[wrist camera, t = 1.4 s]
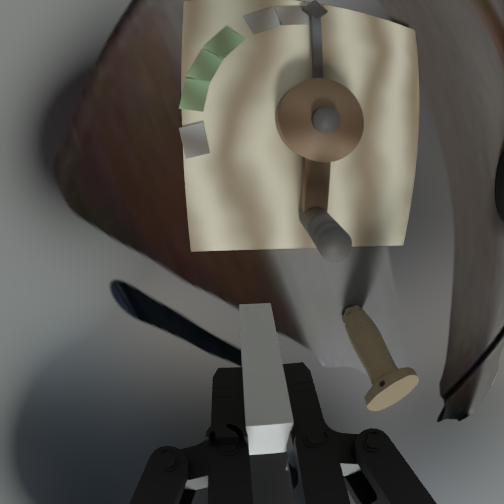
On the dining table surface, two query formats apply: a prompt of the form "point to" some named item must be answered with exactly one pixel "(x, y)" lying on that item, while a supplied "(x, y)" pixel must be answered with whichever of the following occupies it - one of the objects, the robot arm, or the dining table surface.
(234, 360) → the dining table surface
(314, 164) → the brown handled round piece
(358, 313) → the handle
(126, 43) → the dining table surface
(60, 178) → the dining table surface
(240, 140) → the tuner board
